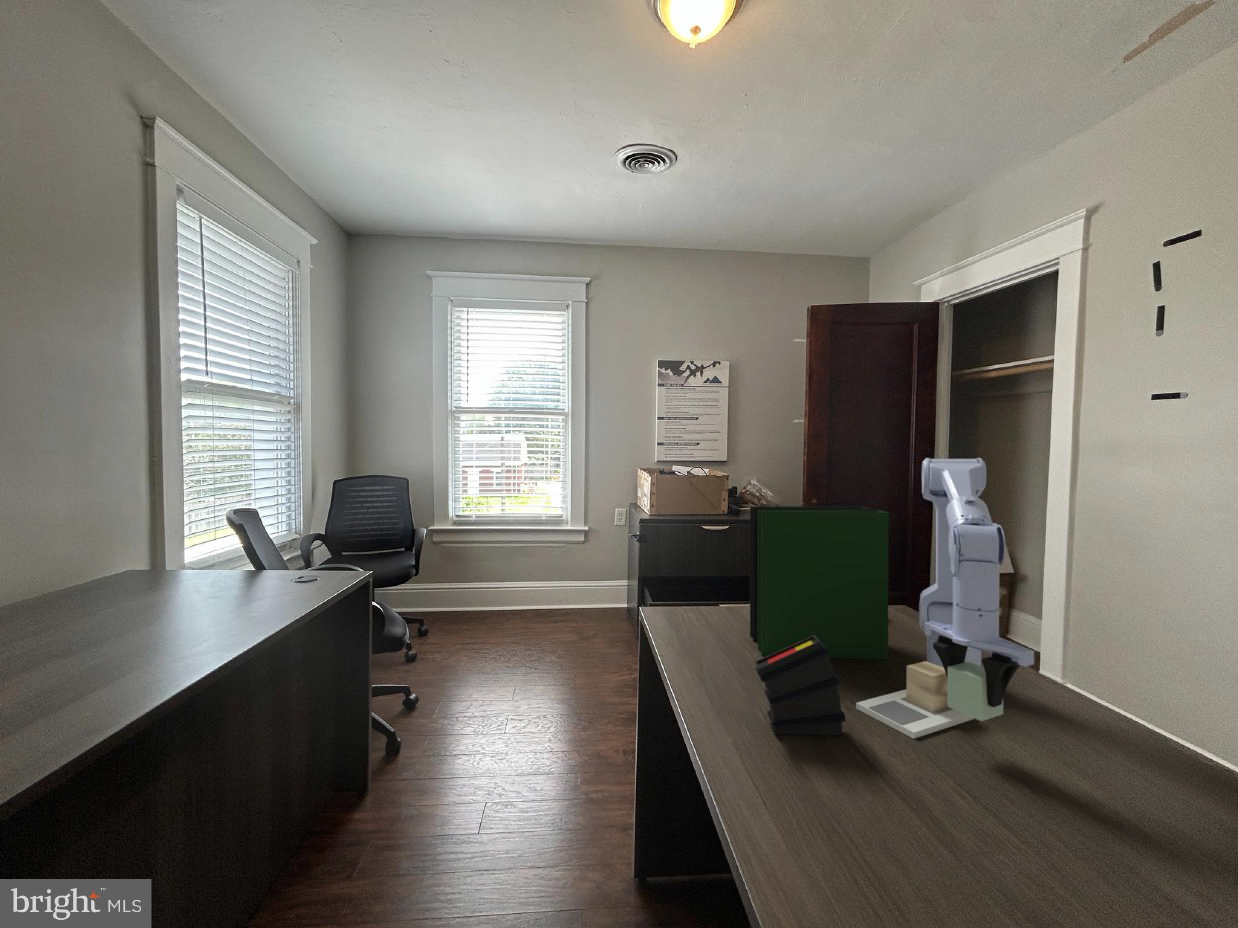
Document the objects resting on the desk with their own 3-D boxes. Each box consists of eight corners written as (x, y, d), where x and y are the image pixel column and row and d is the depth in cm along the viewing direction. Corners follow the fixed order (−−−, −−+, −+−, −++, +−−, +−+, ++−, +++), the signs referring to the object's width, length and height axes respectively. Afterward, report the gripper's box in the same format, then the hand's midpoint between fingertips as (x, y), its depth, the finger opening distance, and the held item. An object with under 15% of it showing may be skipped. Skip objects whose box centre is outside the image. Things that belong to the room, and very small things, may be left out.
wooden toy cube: (925, 694, 96) (925, 661, 96) (952, 705, 91) (952, 671, 91) (906, 699, 94) (906, 665, 94) (933, 711, 89) (933, 676, 89)
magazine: (865, 727, 83) (823, 641, 83) (787, 761, 84) (746, 675, 84) (855, 715, 87) (815, 633, 87) (781, 748, 88) (742, 666, 88)
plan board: (914, 692, 99) (914, 686, 99) (974, 718, 89) (974, 712, 89) (856, 708, 93) (856, 702, 93) (913, 738, 83) (913, 731, 83)
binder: (762, 656, 117) (762, 512, 117) (748, 634, 132) (749, 505, 132) (888, 658, 116) (888, 512, 115) (860, 635, 131) (861, 506, 130)
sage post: (968, 699, 82) (968, 661, 82) (1003, 714, 78) (1003, 673, 78) (947, 706, 80) (947, 666, 80) (981, 721, 76) (982, 679, 75)
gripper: (912, 597, 84) (911, 682, 84) (1012, 623, 70) (1011, 724, 71) (941, 592, 87) (941, 675, 87) (1043, 616, 73) (1042, 714, 74)
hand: (974, 696), depth 79 cm, fingers closed on sage post, 5 cm apart
